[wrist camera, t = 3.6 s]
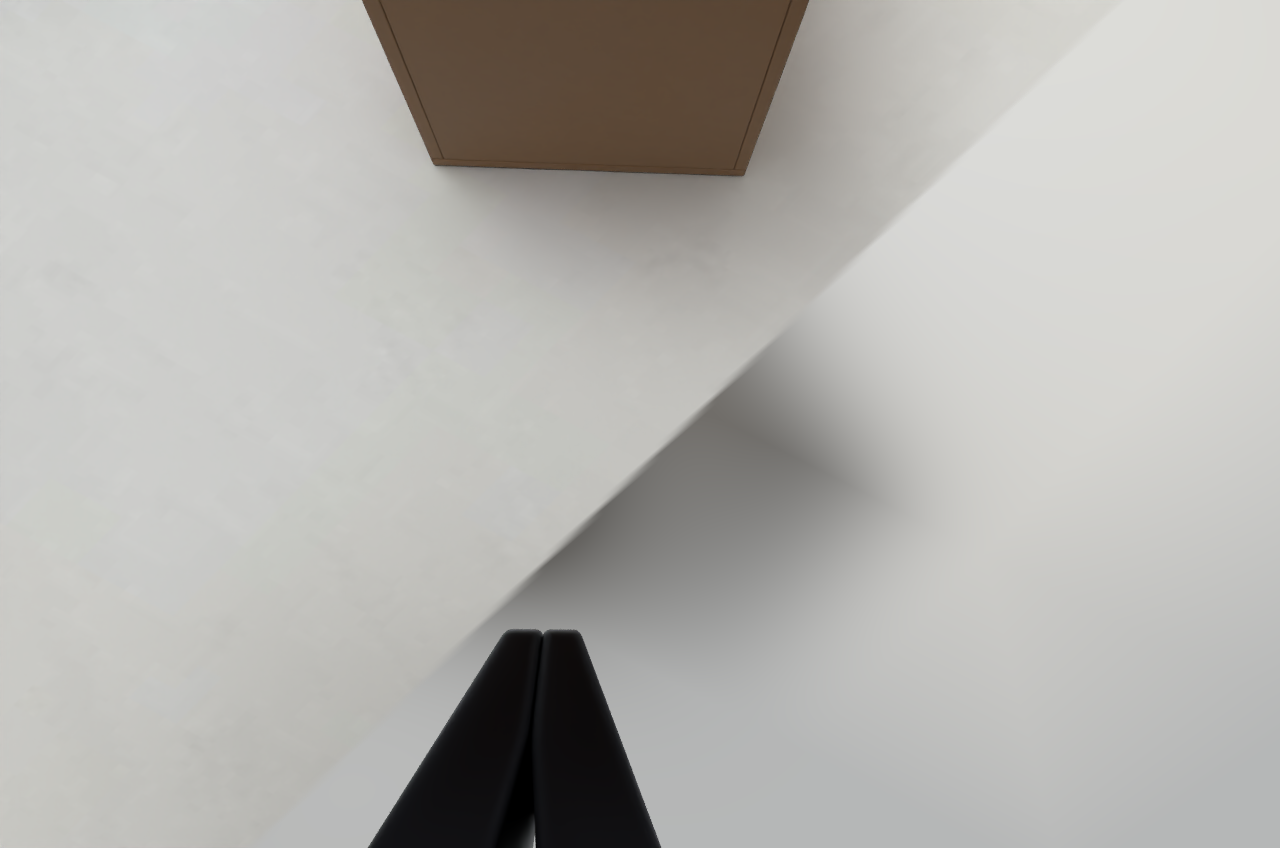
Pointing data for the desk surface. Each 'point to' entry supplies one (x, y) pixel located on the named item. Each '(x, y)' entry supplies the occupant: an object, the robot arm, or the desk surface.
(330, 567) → the desk surface
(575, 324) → the desk surface
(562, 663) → the robot arm
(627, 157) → the carton
